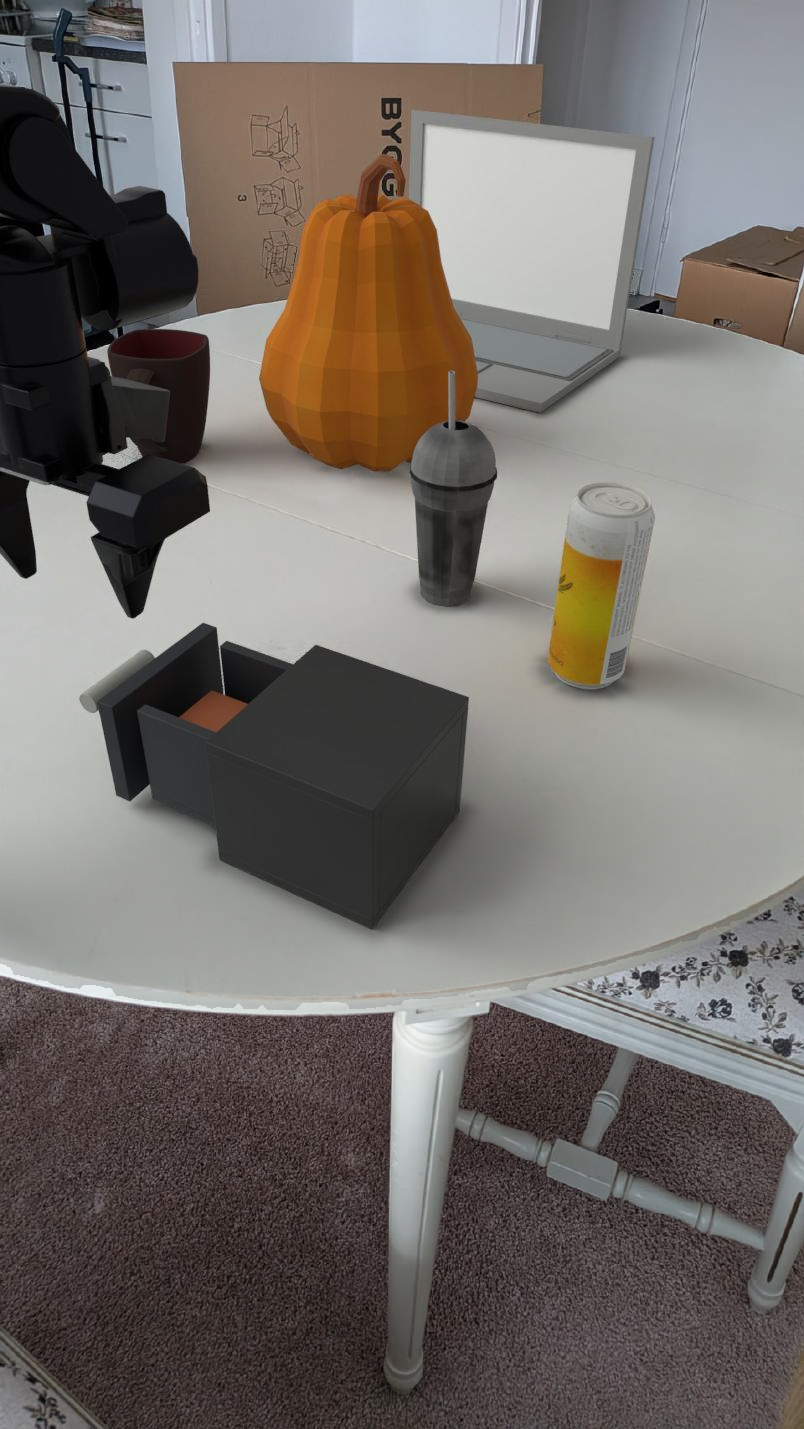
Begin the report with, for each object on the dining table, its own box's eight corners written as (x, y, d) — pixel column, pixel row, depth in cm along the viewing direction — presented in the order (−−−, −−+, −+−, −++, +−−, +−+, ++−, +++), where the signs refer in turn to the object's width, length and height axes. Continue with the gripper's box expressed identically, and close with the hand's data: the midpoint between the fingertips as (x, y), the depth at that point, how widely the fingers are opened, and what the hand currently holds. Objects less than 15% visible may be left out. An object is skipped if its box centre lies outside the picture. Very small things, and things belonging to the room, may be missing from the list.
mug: (228, 440, 114) (219, 332, 107) (188, 492, 103) (175, 376, 96) (145, 432, 115) (130, 325, 108) (97, 483, 104) (77, 368, 97)
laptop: (310, 358, 137) (303, 130, 120) (409, 313, 155) (415, 109, 138) (540, 413, 123) (569, 165, 106) (620, 357, 141) (655, 136, 124)
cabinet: (219, 860, 62) (204, 741, 56) (319, 756, 70) (315, 644, 65) (372, 929, 58) (373, 810, 52) (459, 811, 66) (469, 696, 61)
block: (216, 736, 69) (211, 689, 66) (264, 755, 67) (260, 708, 65) (179, 769, 66) (172, 721, 64) (229, 789, 65) (223, 742, 62)
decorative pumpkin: (514, 465, 111) (544, 159, 92) (324, 511, 101) (315, 179, 82) (404, 396, 126) (411, 124, 108) (230, 430, 116) (206, 136, 98)
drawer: (68, 774, 67) (45, 680, 62) (168, 695, 74) (155, 605, 69) (240, 851, 62) (229, 755, 57) (329, 757, 69) (327, 665, 64)
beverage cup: (501, 587, 90) (523, 364, 77) (461, 623, 85) (478, 391, 72) (432, 564, 93) (442, 346, 80) (389, 598, 88) (393, 370, 75)
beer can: (577, 641, 83) (605, 472, 74) (638, 672, 80) (674, 499, 70) (531, 669, 80) (553, 496, 70) (592, 703, 76) (624, 526, 67)
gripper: (257, 342, 57) (272, 580, 66) (21, 289, 64) (65, 512, 73) (123, 401, 49) (161, 661, 59) (-130, 334, 56) (-59, 576, 66)
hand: (81, 594), depth 64 cm, fingers open, 9 cm apart
